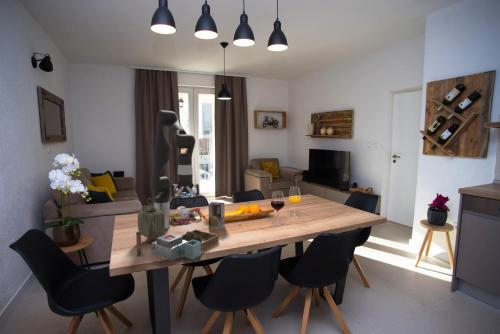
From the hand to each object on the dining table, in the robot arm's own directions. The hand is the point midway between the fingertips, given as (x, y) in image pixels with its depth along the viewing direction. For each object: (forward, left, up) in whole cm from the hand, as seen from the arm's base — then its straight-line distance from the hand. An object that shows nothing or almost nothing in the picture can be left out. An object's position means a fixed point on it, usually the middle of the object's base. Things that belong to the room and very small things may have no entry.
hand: (185, 203), depth 145 cm
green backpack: (-23, -5, -25) cm, 34 cm away
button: (-2, -10, -22) cm, 24 cm away
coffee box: (-7, +34, -25) cm, 43 cm away
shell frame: (+1, +7, -24) cm, 25 cm away
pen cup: (+10, -6, -24) cm, 27 cm away
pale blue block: (-2, -10, -24) cm, 26 cm away
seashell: (+1, +6, -25) cm, 25 cm away
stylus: (-13, -20, -24) cm, 34 cm away
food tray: (-37, +34, -25) cm, 56 cm away
